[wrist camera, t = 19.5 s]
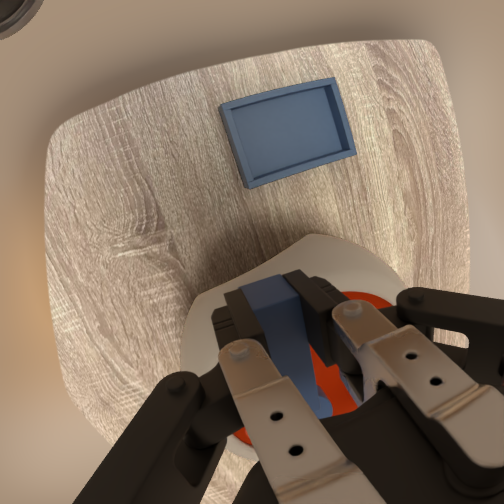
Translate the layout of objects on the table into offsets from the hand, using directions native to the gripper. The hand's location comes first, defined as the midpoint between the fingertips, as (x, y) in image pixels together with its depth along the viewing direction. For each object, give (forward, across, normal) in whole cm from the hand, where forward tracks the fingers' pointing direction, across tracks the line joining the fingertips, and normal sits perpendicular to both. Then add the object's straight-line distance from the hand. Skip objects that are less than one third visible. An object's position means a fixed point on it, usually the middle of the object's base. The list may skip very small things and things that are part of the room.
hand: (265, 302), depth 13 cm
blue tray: (+25, -11, -6) cm, 28 cm away
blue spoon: (0, 0, +4) cm, 4 cm away
